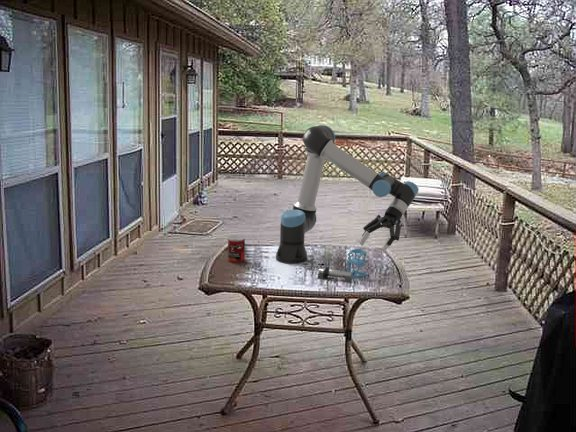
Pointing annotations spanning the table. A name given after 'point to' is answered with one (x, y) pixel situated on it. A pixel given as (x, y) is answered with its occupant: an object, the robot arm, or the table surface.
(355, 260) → the chair
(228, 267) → the table surface
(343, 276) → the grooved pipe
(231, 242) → the canned food
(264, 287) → the table surface
